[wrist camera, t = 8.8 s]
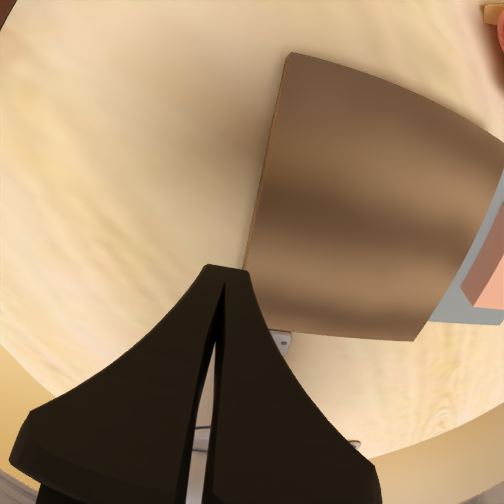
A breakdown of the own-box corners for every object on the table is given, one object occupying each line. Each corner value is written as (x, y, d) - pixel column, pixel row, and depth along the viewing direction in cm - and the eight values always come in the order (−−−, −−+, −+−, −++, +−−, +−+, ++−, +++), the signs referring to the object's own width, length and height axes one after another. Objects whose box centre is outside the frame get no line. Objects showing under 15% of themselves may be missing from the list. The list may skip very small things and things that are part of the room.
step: (401, 315, 23) (413, 341, 20) (237, 294, 22) (233, 323, 19) (483, 135, 14) (510, 147, 12) (286, 57, 13) (291, 52, 11)
